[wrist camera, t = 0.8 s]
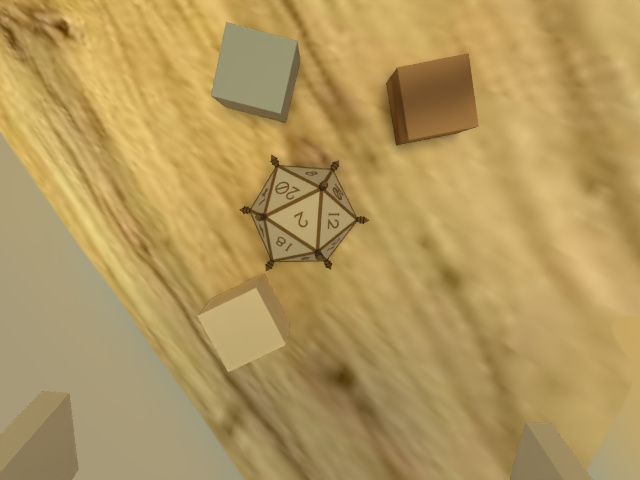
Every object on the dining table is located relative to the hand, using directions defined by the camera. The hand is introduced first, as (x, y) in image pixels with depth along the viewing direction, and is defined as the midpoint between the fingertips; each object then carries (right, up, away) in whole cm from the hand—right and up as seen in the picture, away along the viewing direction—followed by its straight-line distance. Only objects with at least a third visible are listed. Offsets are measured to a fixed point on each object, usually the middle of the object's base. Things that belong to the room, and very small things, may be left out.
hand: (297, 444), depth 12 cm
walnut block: (+9, +17, +22) cm, 29 cm away
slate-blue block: (-4, +19, +22) cm, 29 cm away
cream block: (-5, 0, +25) cm, 25 cm away
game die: (-1, +8, +24) cm, 25 cm away
